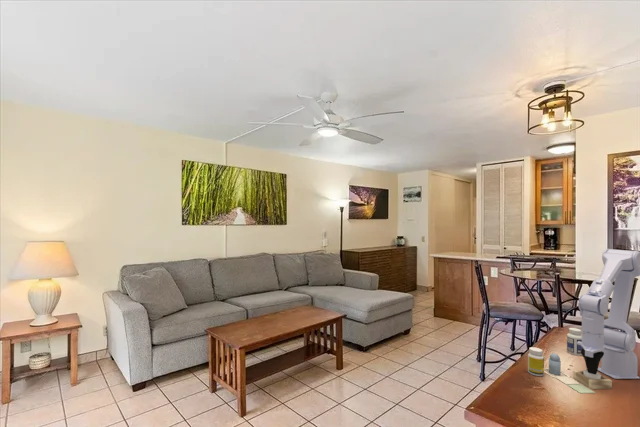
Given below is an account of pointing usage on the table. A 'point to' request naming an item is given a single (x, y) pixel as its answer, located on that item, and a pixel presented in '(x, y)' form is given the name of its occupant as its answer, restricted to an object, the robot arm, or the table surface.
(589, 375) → the dome
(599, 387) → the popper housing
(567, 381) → the square
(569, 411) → the table surface
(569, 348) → the pill bottle
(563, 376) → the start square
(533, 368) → the supplement bottle
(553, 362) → the pawn
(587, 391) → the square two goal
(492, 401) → the table surface
